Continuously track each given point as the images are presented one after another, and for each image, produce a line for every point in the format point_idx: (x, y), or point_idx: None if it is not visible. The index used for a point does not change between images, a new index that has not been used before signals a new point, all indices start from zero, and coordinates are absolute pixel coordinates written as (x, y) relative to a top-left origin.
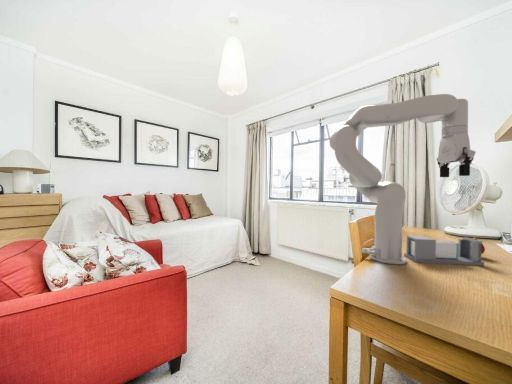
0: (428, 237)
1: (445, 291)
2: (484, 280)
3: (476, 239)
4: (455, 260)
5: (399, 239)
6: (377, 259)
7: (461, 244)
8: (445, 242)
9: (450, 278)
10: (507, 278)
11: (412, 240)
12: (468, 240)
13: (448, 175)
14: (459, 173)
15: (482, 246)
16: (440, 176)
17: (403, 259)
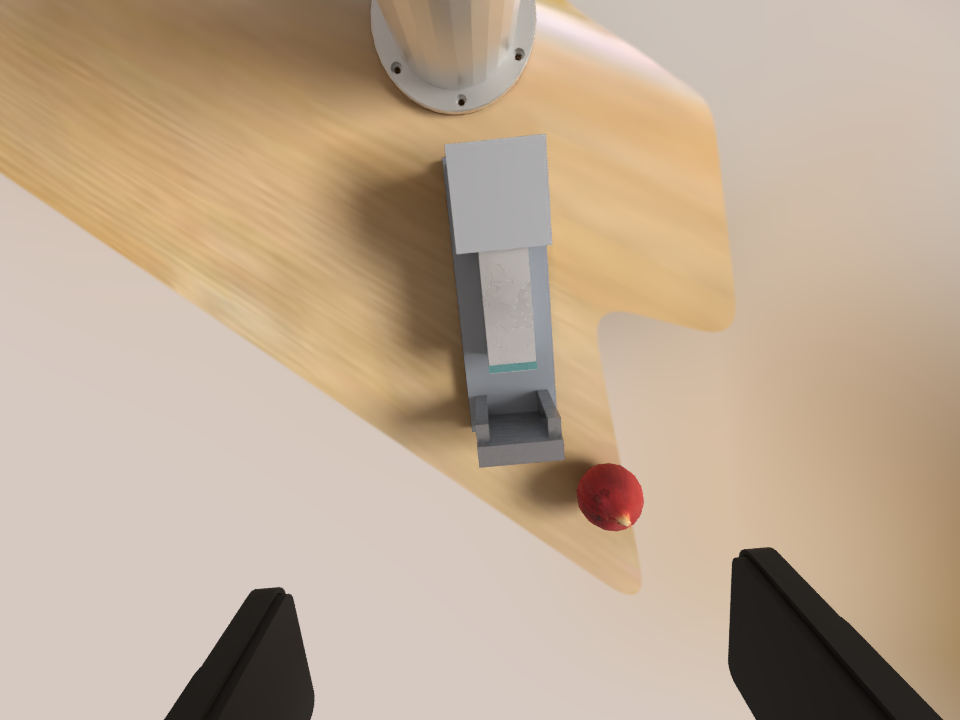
0: (515, 247)
1: (131, 105)
2: (294, 313)
3: (618, 523)
4: (470, 334)
5: (381, 10)
6: None
7: (544, 413)
8: (501, 323)
9: (273, 201)
10: (342, 404)
11: None
12: (526, 439)
13: (741, 683)
14: (257, 612)
15: (586, 514)
16: (755, 550)
17: (422, 90)
